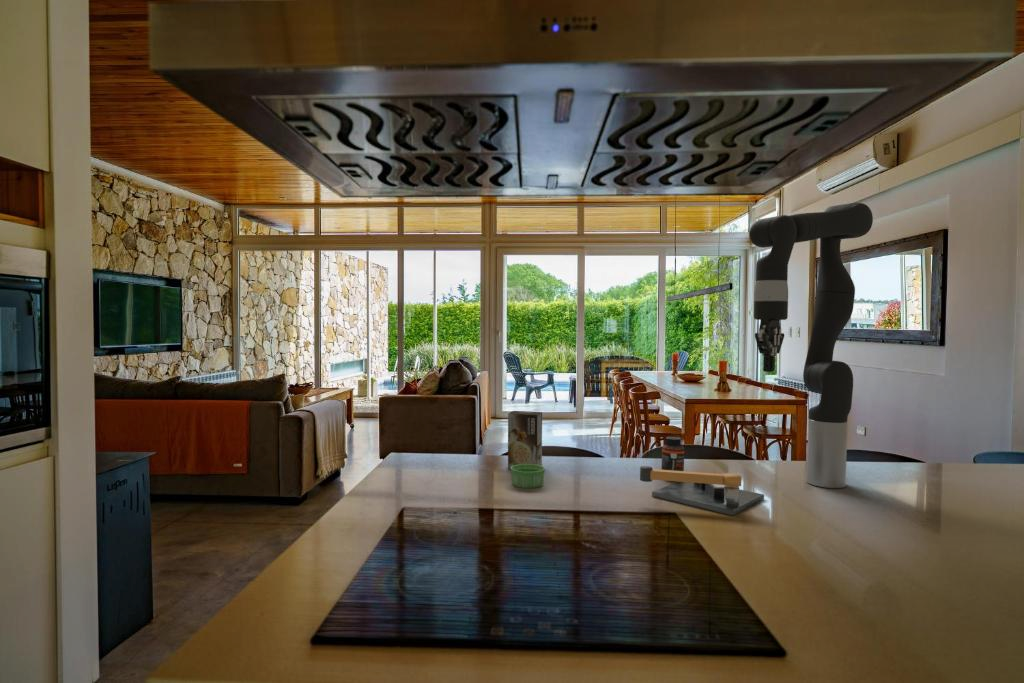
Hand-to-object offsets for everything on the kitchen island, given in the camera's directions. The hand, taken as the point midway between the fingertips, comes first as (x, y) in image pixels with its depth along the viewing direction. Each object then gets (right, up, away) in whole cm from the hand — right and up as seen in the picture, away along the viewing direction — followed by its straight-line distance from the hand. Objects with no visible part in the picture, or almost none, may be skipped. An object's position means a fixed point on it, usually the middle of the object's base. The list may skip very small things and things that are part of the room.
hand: (768, 371), depth 142 cm
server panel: (-15, -31, +1) cm, 34 cm away
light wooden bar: (-21, -26, -7) cm, 34 cm away
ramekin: (-58, -30, +11) cm, 66 cm away
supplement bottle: (-18, -31, +18) cm, 40 cm away
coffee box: (-59, -30, +29) cm, 72 cm away
